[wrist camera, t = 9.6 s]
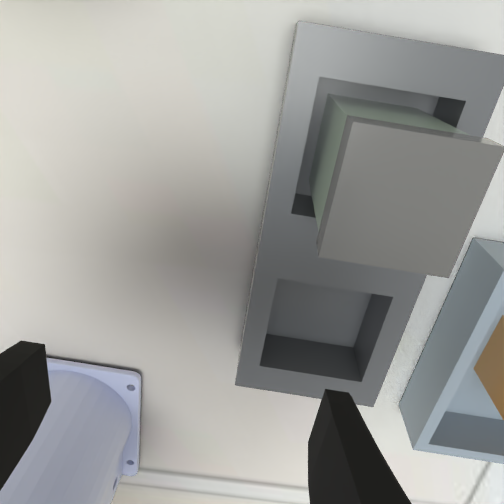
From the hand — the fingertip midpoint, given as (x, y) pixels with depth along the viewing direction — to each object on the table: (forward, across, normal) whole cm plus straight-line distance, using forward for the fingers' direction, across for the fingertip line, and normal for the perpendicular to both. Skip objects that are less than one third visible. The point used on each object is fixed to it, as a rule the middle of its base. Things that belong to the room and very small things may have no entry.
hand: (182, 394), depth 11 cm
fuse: (+10, -5, -5) cm, 12 cm away
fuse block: (+10, -5, -1) cm, 12 cm away
